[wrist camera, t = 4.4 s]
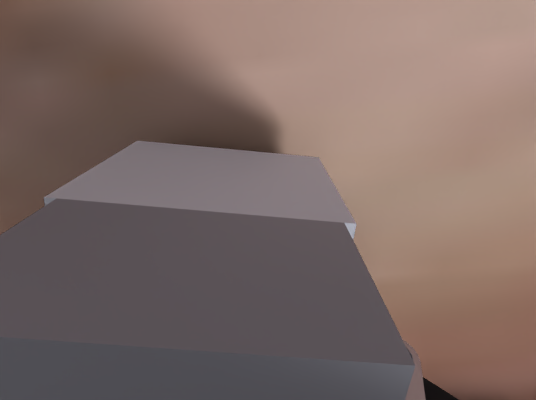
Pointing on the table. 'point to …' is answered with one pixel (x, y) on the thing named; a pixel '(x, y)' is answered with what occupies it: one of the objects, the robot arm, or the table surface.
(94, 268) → the lidded storage box
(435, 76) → the table surface
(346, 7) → the table surface
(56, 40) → the table surface
